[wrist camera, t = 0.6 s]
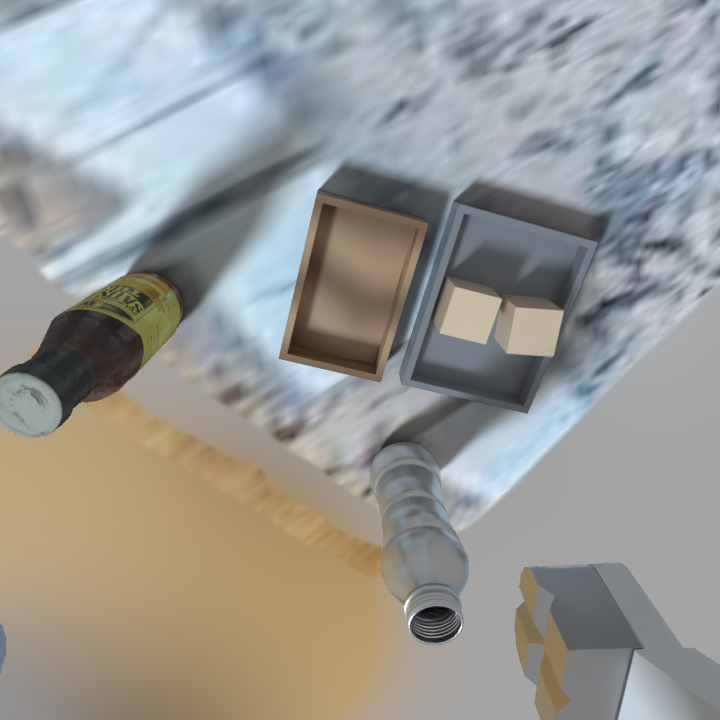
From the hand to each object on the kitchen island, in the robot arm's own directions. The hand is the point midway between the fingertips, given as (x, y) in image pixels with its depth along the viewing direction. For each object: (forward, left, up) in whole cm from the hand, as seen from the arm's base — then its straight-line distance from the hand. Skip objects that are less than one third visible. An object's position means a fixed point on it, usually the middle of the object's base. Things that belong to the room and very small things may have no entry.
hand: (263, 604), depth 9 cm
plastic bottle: (+20, +13, -41) cm, 48 cm away
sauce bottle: (+10, -13, -41) cm, 44 cm away
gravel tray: (+3, +16, -41) cm, 44 cm away
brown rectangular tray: (+4, +4, -41) cm, 41 cm away
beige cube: (+3, +19, -41) cm, 45 cm away
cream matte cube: (+3, +13, -41) cm, 43 cm away
